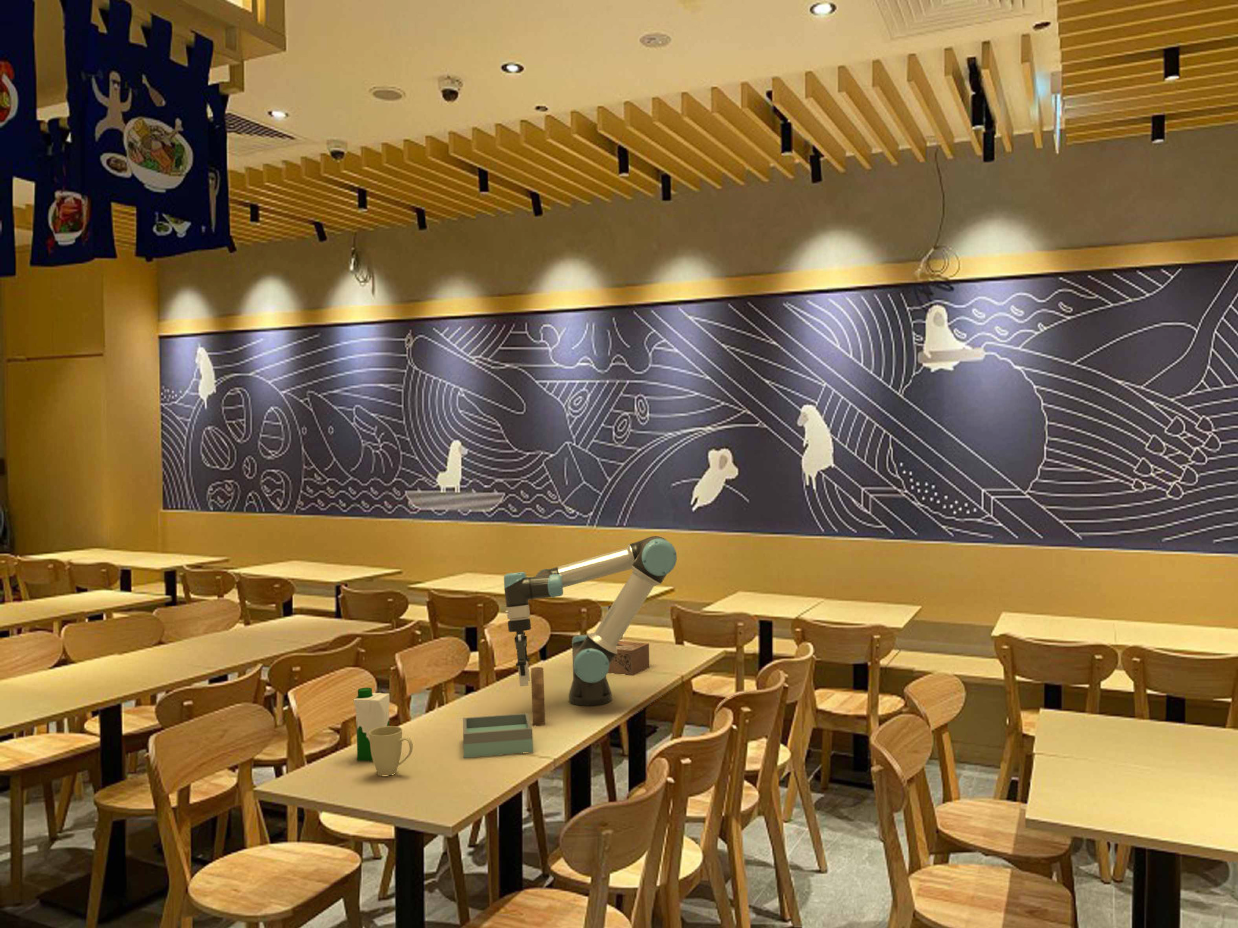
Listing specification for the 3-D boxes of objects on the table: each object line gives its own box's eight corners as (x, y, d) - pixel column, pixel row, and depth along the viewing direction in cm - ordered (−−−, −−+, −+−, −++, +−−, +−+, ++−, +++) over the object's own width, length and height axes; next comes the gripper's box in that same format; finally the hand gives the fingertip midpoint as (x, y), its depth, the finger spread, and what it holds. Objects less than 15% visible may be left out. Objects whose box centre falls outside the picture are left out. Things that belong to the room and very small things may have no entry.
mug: (373, 782, 260) (372, 738, 259) (368, 771, 269) (366, 728, 268) (414, 775, 264) (412, 732, 264) (407, 765, 273) (405, 723, 273)
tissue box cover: (575, 670, 384) (575, 645, 383) (594, 662, 396) (593, 638, 396) (632, 676, 371) (631, 650, 371) (649, 668, 384) (648, 643, 383)
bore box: (528, 735, 298) (528, 712, 298) (532, 752, 281) (532, 728, 281) (463, 740, 295) (463, 717, 295) (463, 757, 278) (463, 733, 278)
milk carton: (366, 751, 286) (364, 685, 286) (394, 752, 285) (392, 685, 284) (352, 761, 278) (350, 692, 277) (381, 762, 276) (379, 693, 276)
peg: (544, 721, 312) (542, 666, 312) (545, 725, 308) (543, 669, 308) (532, 722, 312) (530, 667, 311) (533, 726, 308) (531, 670, 307)
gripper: (509, 618, 332) (515, 680, 330) (505, 622, 307) (511, 689, 305) (531, 616, 333) (537, 678, 330) (528, 619, 308) (535, 686, 305)
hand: (525, 683), depth 318 cm, fingers open, 13 cm apart
